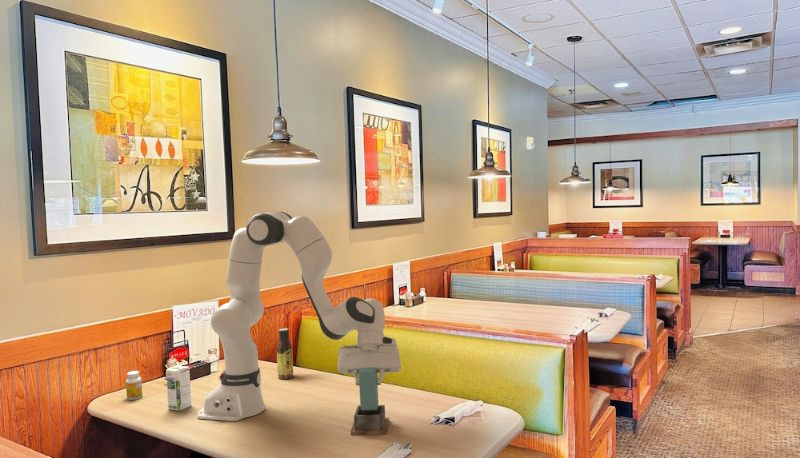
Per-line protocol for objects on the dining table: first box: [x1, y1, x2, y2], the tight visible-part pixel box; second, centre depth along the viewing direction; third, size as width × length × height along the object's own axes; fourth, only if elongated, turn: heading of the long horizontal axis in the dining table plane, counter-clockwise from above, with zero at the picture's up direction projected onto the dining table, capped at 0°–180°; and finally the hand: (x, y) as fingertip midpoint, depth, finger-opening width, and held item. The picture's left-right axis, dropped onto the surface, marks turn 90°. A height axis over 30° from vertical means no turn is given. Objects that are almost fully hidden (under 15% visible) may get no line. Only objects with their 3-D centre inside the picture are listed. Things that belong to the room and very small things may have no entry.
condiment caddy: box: [350, 404, 390, 436], centre depth 171 cm, size 11×10×6 cm
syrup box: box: [165, 365, 192, 412], centre depth 196 cm, size 6×6×14 cm
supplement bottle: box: [125, 370, 144, 401], centre depth 208 cm, size 5×5×10 cm
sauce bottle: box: [276, 327, 294, 380], centre depth 224 cm, size 6×6×20 cm
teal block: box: [358, 367, 379, 410], centre depth 171 cm, size 5×5×12 cm
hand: (368, 384), depth 170 cm, fingers closed on teal block, 5 cm apart
